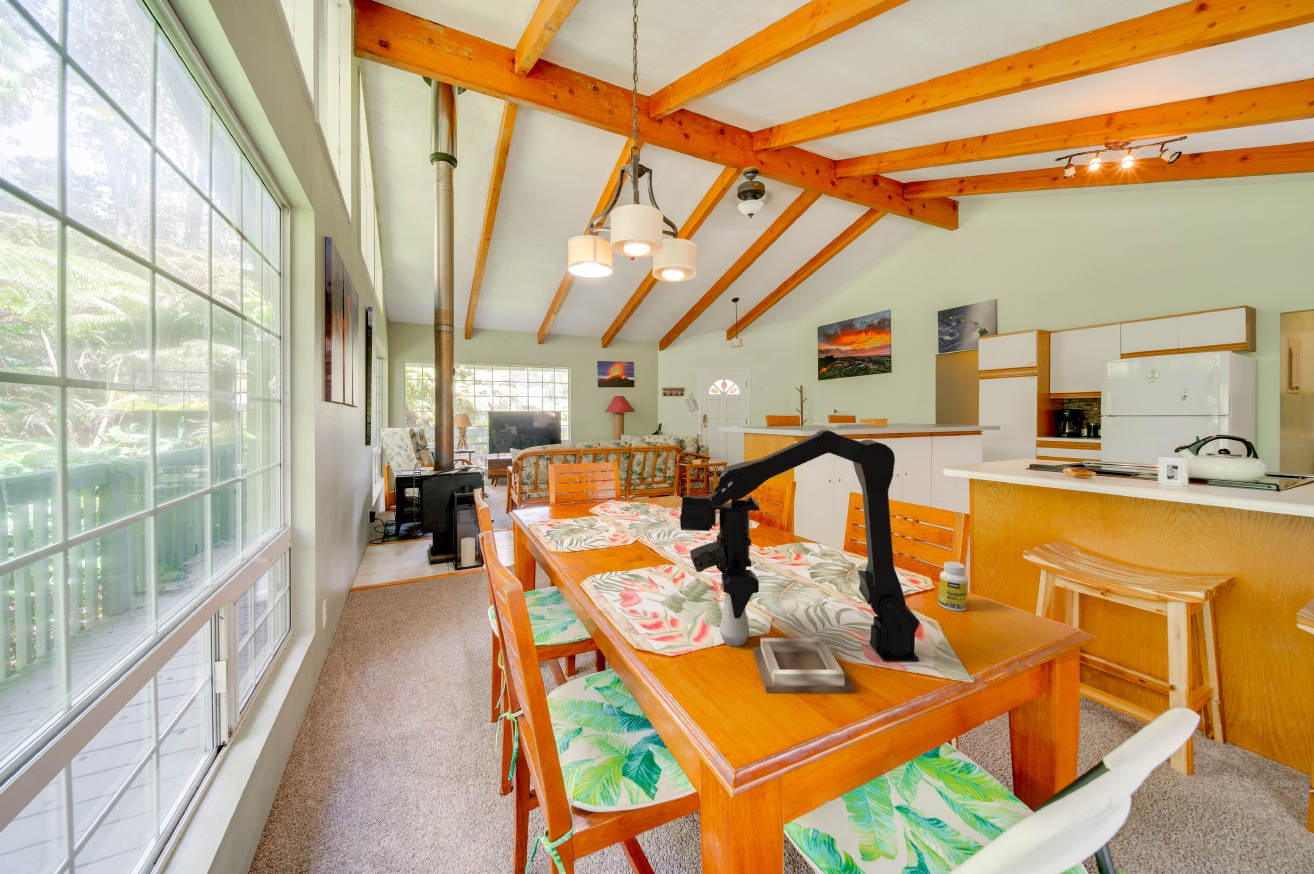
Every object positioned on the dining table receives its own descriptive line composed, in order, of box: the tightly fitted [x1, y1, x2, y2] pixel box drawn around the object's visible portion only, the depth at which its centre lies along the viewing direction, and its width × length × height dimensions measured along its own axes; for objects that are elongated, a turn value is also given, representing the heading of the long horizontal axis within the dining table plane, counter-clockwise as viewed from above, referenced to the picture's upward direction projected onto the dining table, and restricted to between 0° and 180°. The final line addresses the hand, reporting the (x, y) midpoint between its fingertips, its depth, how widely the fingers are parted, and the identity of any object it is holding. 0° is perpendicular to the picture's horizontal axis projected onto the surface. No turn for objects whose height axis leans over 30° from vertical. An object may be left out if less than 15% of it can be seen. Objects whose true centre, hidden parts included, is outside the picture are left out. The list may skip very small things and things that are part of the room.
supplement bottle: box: [938, 561, 969, 612], centre depth 106 cm, size 5×5×10 cm
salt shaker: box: [719, 593, 750, 648], centre depth 92 cm, size 6×6×13 cm
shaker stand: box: [752, 637, 854, 694], centre depth 82 cm, size 14×12×3 cm
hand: (734, 609), depth 92 cm, fingers open, 7 cm apart
